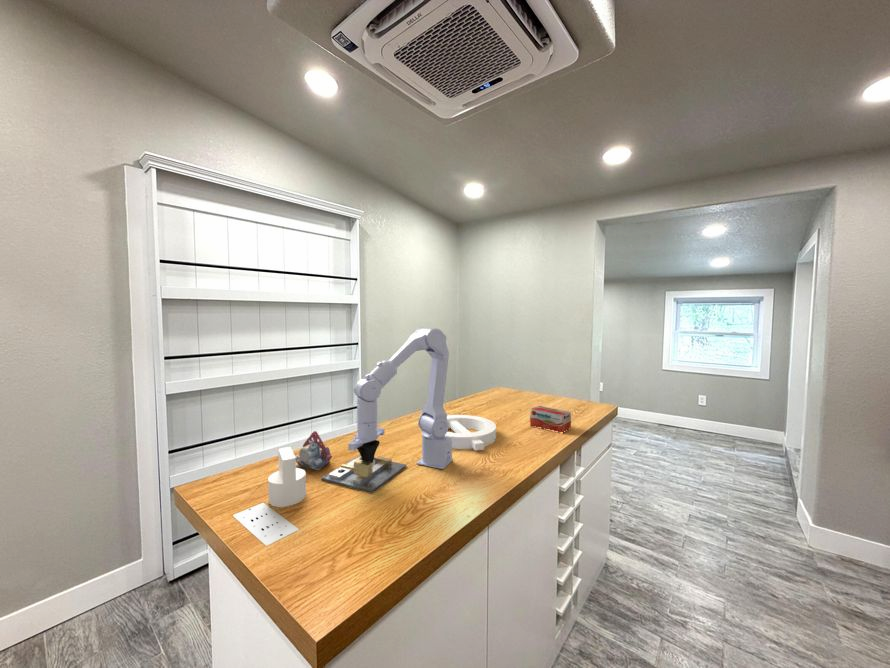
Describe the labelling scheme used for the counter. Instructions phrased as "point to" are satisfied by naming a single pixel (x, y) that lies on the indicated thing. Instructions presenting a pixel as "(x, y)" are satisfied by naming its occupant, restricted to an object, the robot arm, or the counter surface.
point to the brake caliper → (313, 453)
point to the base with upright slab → (287, 481)
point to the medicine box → (550, 418)
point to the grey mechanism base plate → (380, 475)
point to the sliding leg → (360, 468)
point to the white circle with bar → (465, 437)
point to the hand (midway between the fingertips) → (367, 466)
